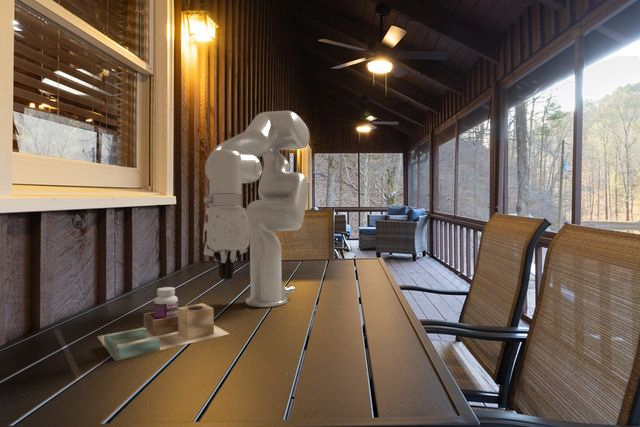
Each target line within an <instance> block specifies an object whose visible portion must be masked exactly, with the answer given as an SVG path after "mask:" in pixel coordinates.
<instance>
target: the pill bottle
mask: <svg viewBox="0 0 640 427" xmlns="http://www.w3.org/2000/svg"><path fill="white" fill-rule="evenodd" d="M175 294H176V289H175V287H172V286H163V287H159V288H157V289H156V295H157V297H155V299H154V301H153V305H154V306H153V309H154V310H153V312H154V318H155V319H156V320H157V319H162V318H168V317H173V316H178V308H179V299H178V296H176V295H175Z"/></svg>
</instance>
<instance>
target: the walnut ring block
mask: <svg viewBox="0 0 640 427" xmlns="http://www.w3.org/2000/svg"><path fill="white" fill-rule="evenodd" d="M143 327H144V328H147V331H148V332H149V333H151V334H152V335H153V336H159V335H163V334H168V333H173V332H178V316H173V317H168V318H162V319H157V320H156V319H155V318H154V311H151V312H146V313H143Z"/></svg>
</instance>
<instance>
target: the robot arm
mask: <svg viewBox="0 0 640 427" xmlns="http://www.w3.org/2000/svg"><path fill="white" fill-rule="evenodd" d="M309 143H310V130H309V128H308V126H307V125H306V123H305V122H304V121H303V119H302V118H301V116H299V115H298V114H297V113H296V112H294V111H291V110H276V111H264V112H263V111H262V112H260V113H258V114H257V115H256V116H255V117H254V118H253V120H251V122H250V124H249V125H248V126H247V128H246V129H245V130H244V131H243V132H241V133H238V134H237V135H234V136H233V137H231V138H229V139H227V140H225V141H223V142H221V143H219V144H218V145H217V146H216V147H215V148H214V149H213V150H212V151H211V152H210V153H209V156H208V157H207V160H206V162H205V167H204V171H205V175H206V178H207V179H208V180H209V189H208V190H209V193H208V196H204V198H203V203H205V204H206V203H207V204H208V206H209V207H207V208H206V212H205V217H204V222H203V223H204V224H203V234H202V235H203V236H202V238H203V239H202V242H203V247H204V250H203V255H205V256H210V257H213V258H214V259H215V260H216V262H218V275H219V278H220V279H221V280H224V281H226V280H232V279H233V275H234V263H235V262H236V259H237V258H238V257H239V255H242V254H245V253H247V252H248V248H249V268H250V269H249V270H250V272H249V273H250V296H248V297H246V299H245V305H247V306H250V307H254V308H255V307H256V308H271V307H278V306H283V305H284V304H287V302H288V297H287V296H286V295H287V294H292V293H295V292H296V288H295V286H288V287H287V286H283V284H282V278H283V276H282V244H281V242H280V239H279V237H278V236H277V235H276V233H275V232H276V231H277V232H287V231H288V232H290V231H291V232H292V231H298V230H300V229H301V227H302V226H303V223H304V219H305V213H306V207H307V202H308V198H309V197H308V194H309V183H308V182H309V181H308V179H307V177H306V176H305V174H304V173H301V172H297V171H295V172H294V171H293V172H290V170H291V168H290V163H289V161H288V159H286V157H285V156H284V155H283V154H282V153H281V152H280V151H282V150H283V151H284V150H285V151H286V150H303V149H305V148H307V146H308V145H309ZM260 157H262V159H263V163H264V164H263V166H262V163H261V161H260V159H259V158H260ZM259 179H260V181H259V184H258V189H257V190H258V191H257V192H258V196H259V199H257V200H253V201H251V202H250V203H249V204H248V206H247V207H246V208H245V207H242V197H243V196H242V184H251V183H255V182H256V181H258V180H259Z"/></svg>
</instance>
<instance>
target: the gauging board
mask: <svg viewBox="0 0 640 427" xmlns="http://www.w3.org/2000/svg"><path fill="white" fill-rule="evenodd" d="M227 335H231V334H230V333H229V332H228V331H226V330H224V329H222V328H220V327H219V326H217V325H215V324H214V334H213V335H209V336H204V337H200V338H196V339H191V340H187V339H186V338H184V337H183V336H181V335H180V334H179V333H178V332H173V333H168V334H163V335H159V336H153V335H152V334H151V333H149V332H148V331H147V328H144V326H143V327H139V328H133V329H128V330H123V331H118V332H112V333H107V334H104V335H103V334H102V335H98V336H96V337H97V339H98V340H99V341H100V343H101V344H102V346H103V347H104V348H105V349H106V350H107V352H108V353H109V354H110V356H111V357H112V358H113V360H114V361H119V360H123V359H128V358H133V357H136V356H140V355H145V354H149V353H154V352H159V351H163V350H167V349H171V348H174V347H176V348H177V347H179V346H183V345H188V344H193V343H197V342H201V341H205V340H209V339H213V338H218V337H222V336H227Z"/></svg>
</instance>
